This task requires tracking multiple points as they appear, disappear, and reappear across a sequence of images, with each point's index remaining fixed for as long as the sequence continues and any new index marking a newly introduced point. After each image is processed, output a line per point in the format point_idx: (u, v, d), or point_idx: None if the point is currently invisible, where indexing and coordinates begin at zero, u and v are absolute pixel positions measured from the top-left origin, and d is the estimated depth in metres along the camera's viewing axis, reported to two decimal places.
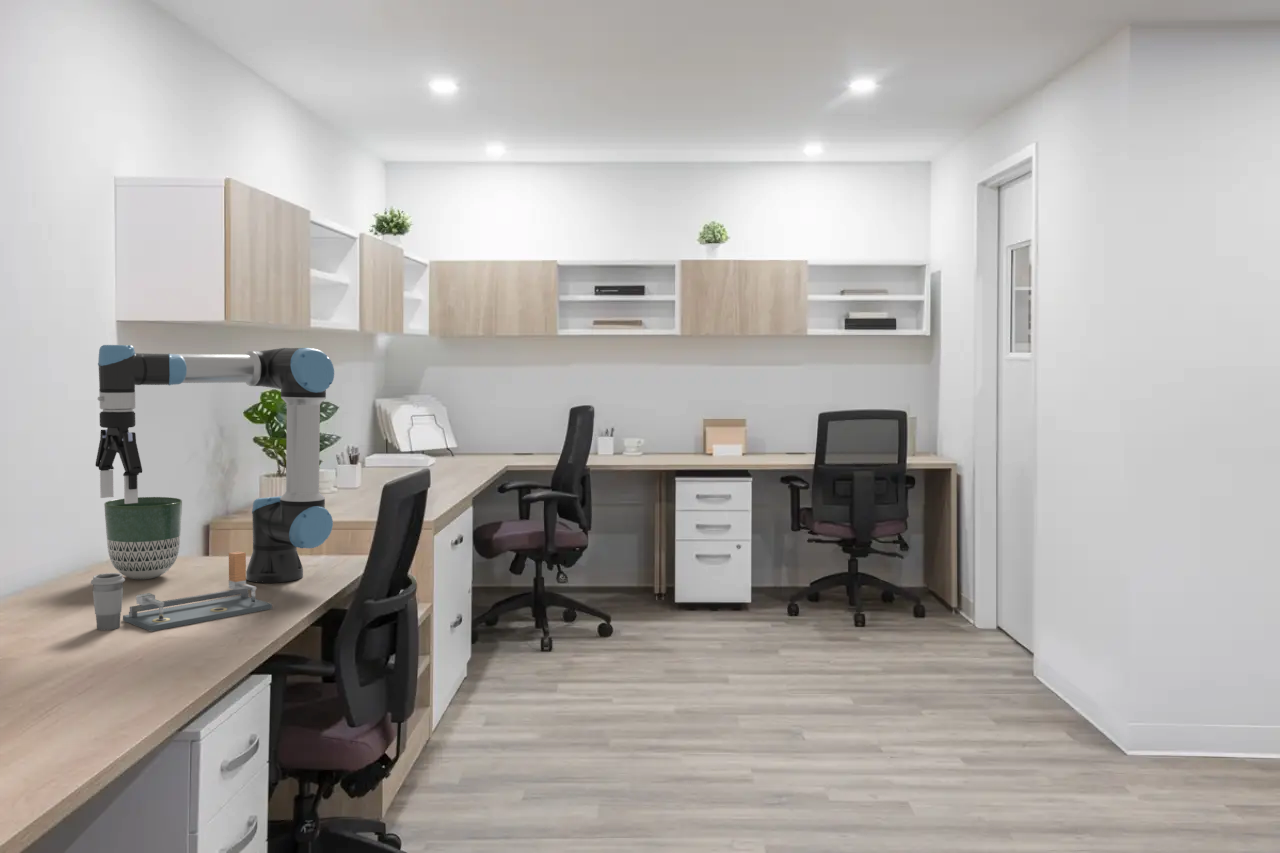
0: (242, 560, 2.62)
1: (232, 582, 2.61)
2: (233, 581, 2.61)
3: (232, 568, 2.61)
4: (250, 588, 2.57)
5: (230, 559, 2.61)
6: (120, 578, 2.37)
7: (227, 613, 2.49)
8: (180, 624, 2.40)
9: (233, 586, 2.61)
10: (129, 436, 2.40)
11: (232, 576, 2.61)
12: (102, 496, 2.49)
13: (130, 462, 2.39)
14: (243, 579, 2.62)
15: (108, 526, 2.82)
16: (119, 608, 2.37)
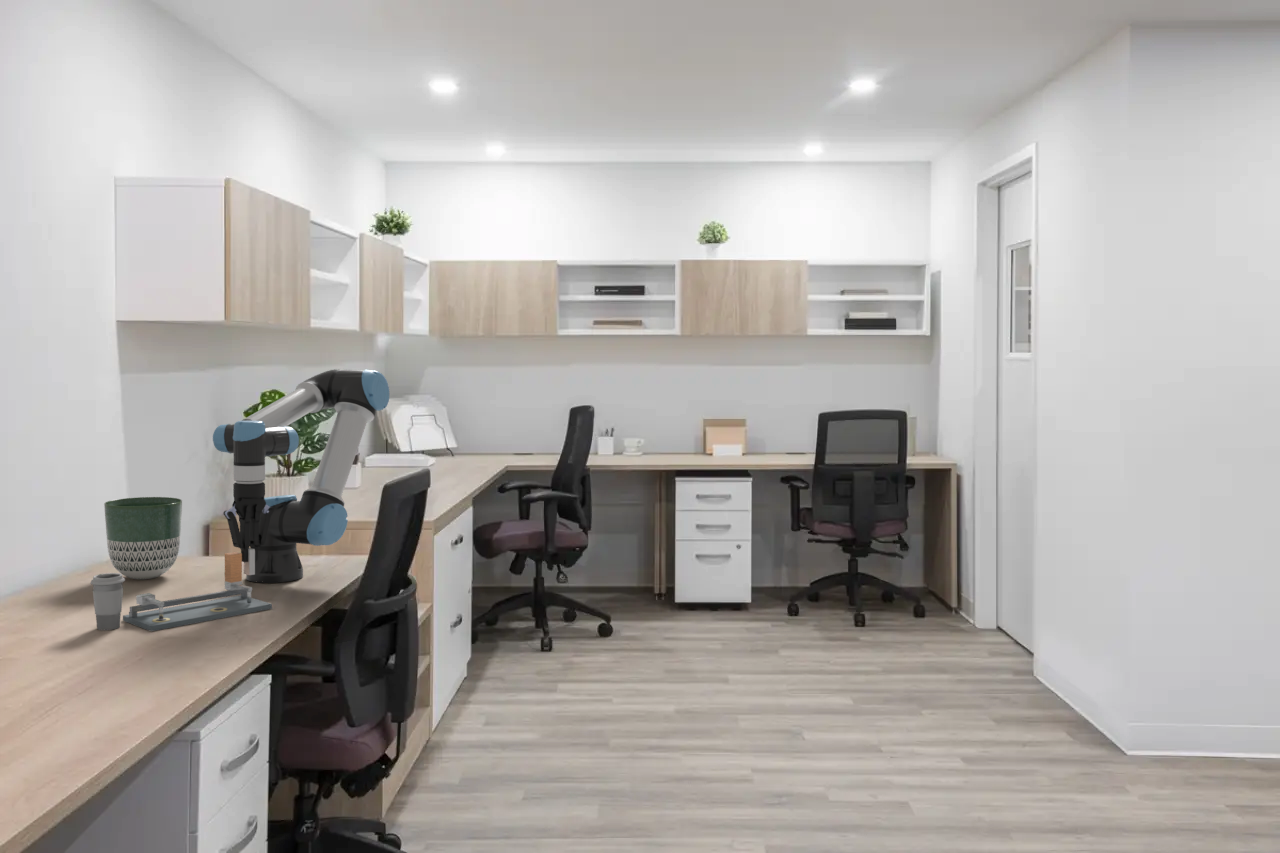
0: (238, 561, 2.61)
1: (228, 583, 2.60)
2: (229, 582, 2.60)
3: (228, 568, 2.60)
4: (246, 589, 2.57)
5: (226, 560, 2.60)
6: (120, 578, 2.37)
7: (227, 613, 2.49)
8: (180, 624, 2.40)
9: (229, 586, 2.60)
10: (226, 515, 2.59)
11: (228, 577, 2.60)
12: None
13: (232, 538, 2.62)
14: (239, 580, 2.61)
15: (108, 526, 2.82)
16: (119, 608, 2.37)
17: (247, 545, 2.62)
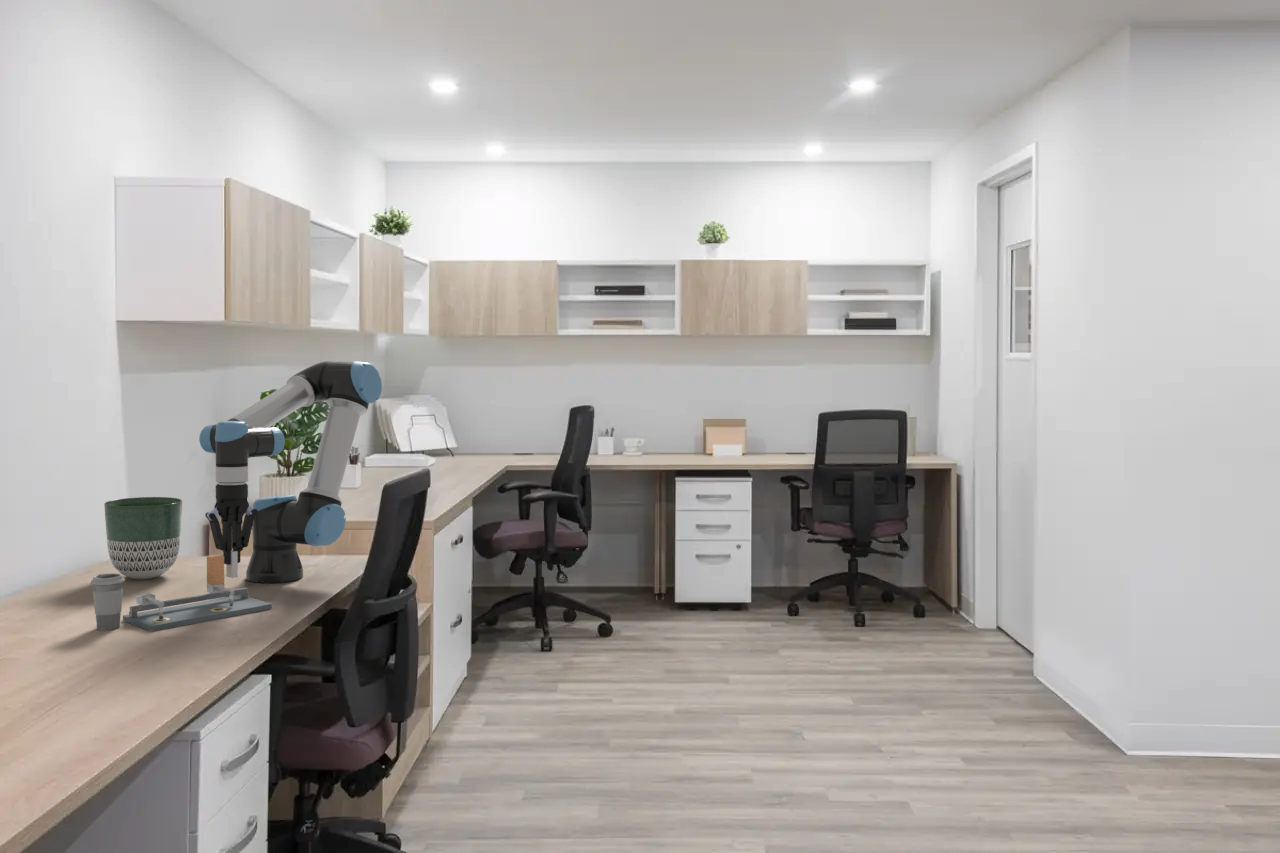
0: (220, 563, 2.57)
1: (210, 586, 2.56)
2: (211, 585, 2.56)
3: (210, 571, 2.56)
4: (228, 592, 2.53)
5: (208, 562, 2.57)
6: (120, 578, 2.37)
7: (227, 613, 2.49)
8: (180, 624, 2.40)
9: (211, 589, 2.56)
10: (208, 517, 2.56)
11: (210, 579, 2.56)
12: None
13: (214, 540, 2.58)
14: (221, 583, 2.58)
15: (108, 526, 2.82)
16: (119, 608, 2.37)
17: (229, 547, 2.59)
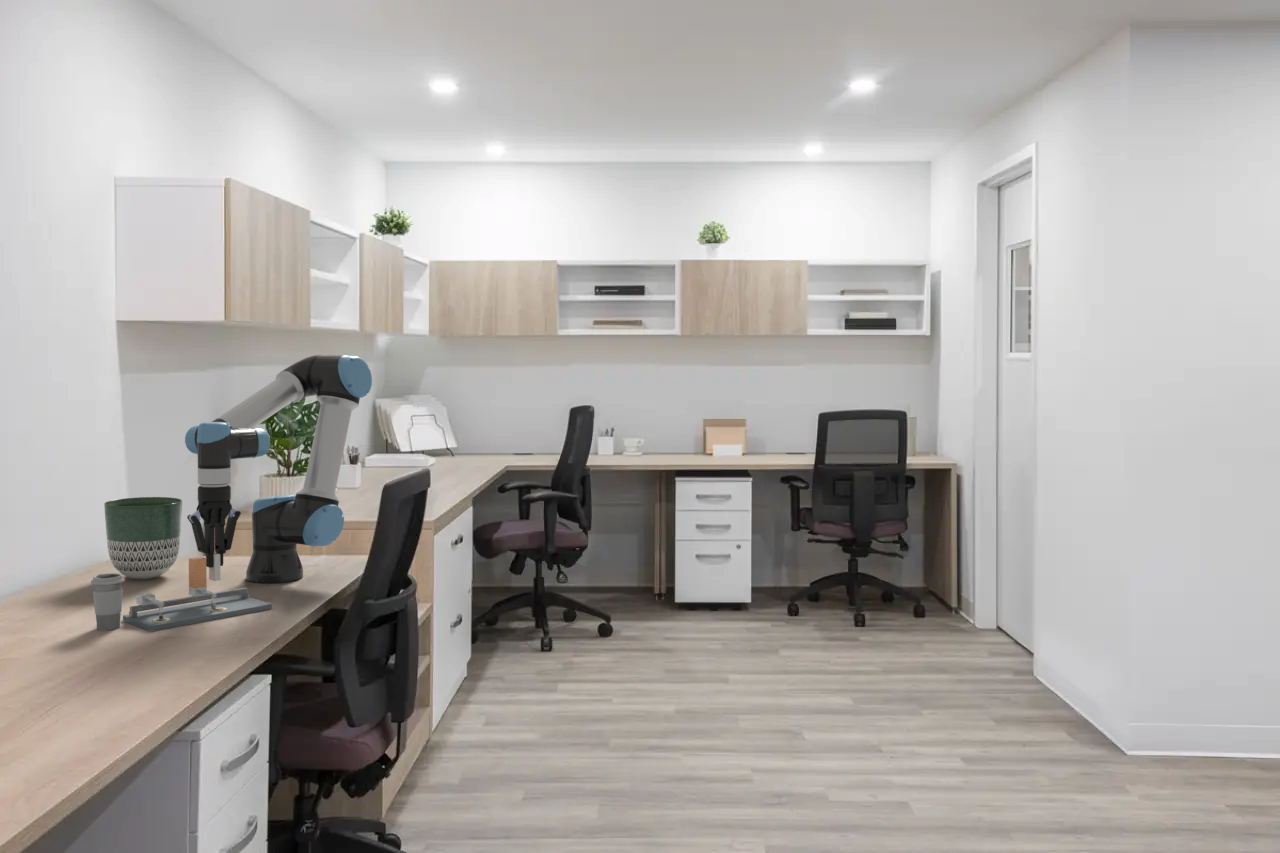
0: (202, 566, 2.54)
1: (192, 588, 2.53)
2: (193, 587, 2.53)
3: (192, 574, 2.53)
4: (210, 595, 2.50)
5: (190, 565, 2.53)
6: (120, 578, 2.37)
7: (227, 613, 2.49)
8: (180, 624, 2.40)
9: (193, 592, 2.53)
10: (190, 520, 2.52)
11: (192, 582, 2.53)
12: None
13: (196, 543, 2.55)
14: (204, 585, 2.54)
15: (108, 526, 2.82)
16: (119, 608, 2.37)
17: (212, 550, 2.55)
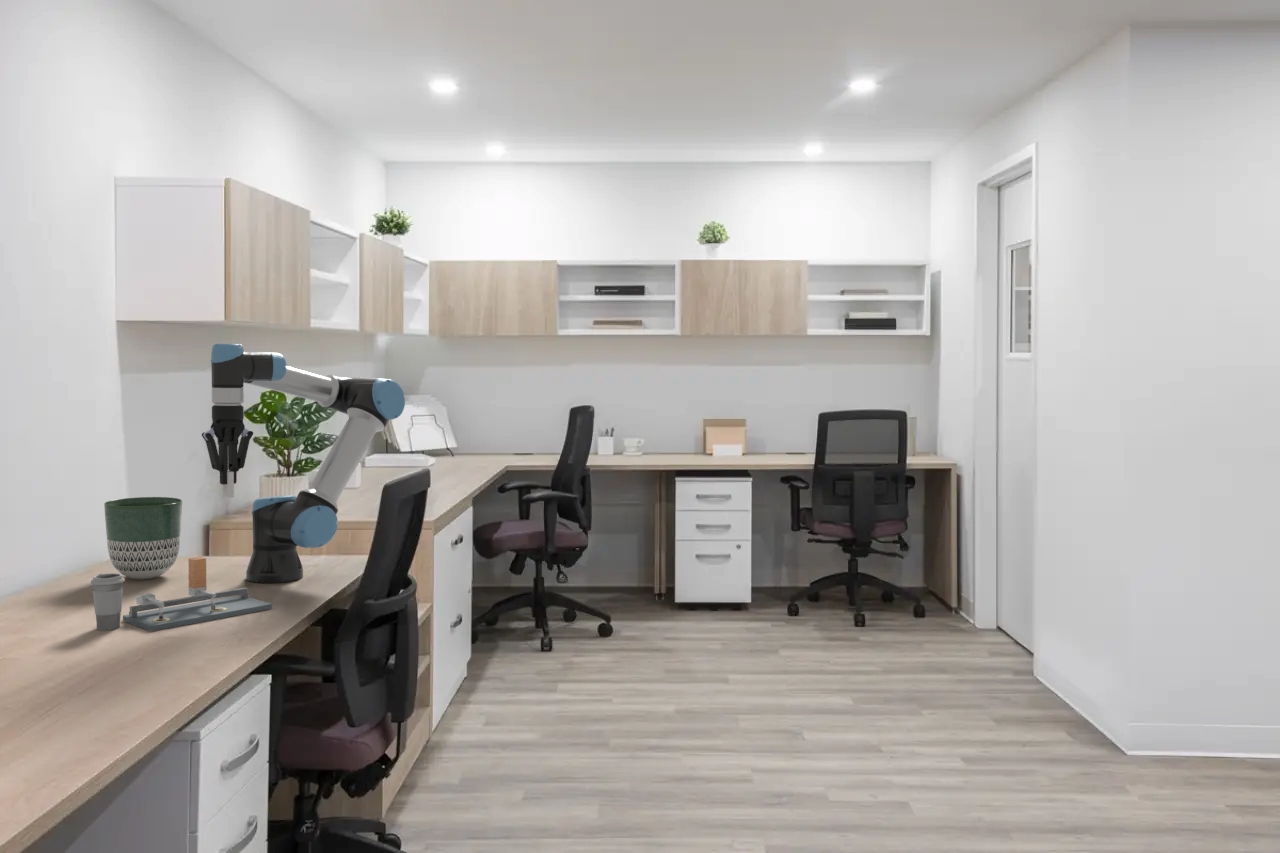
0: (202, 566, 2.54)
1: (192, 588, 2.53)
2: (193, 587, 2.53)
3: (192, 574, 2.53)
4: (210, 595, 2.49)
5: (190, 565, 2.53)
6: (120, 578, 2.37)
7: (227, 613, 2.49)
8: (180, 624, 2.40)
9: (193, 592, 2.53)
10: (204, 437, 2.60)
11: (192, 582, 2.53)
12: None
13: (210, 460, 2.62)
14: (203, 586, 2.54)
15: (108, 526, 2.82)
16: (119, 608, 2.37)
17: (226, 467, 2.63)
